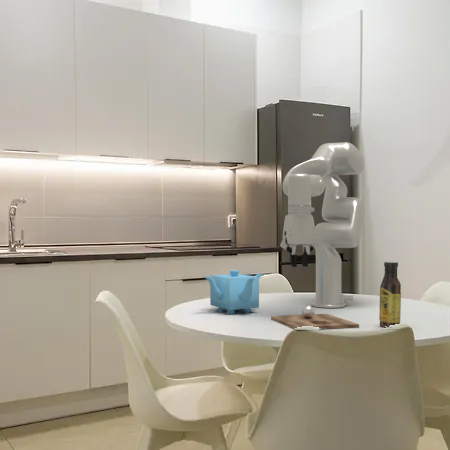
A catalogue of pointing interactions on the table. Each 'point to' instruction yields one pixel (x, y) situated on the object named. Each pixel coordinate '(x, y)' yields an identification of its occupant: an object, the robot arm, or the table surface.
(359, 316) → the table surface
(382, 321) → the sauce bottle
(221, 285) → the teakettle
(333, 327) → the walnut board
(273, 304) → the table surface
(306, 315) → the steel ball
